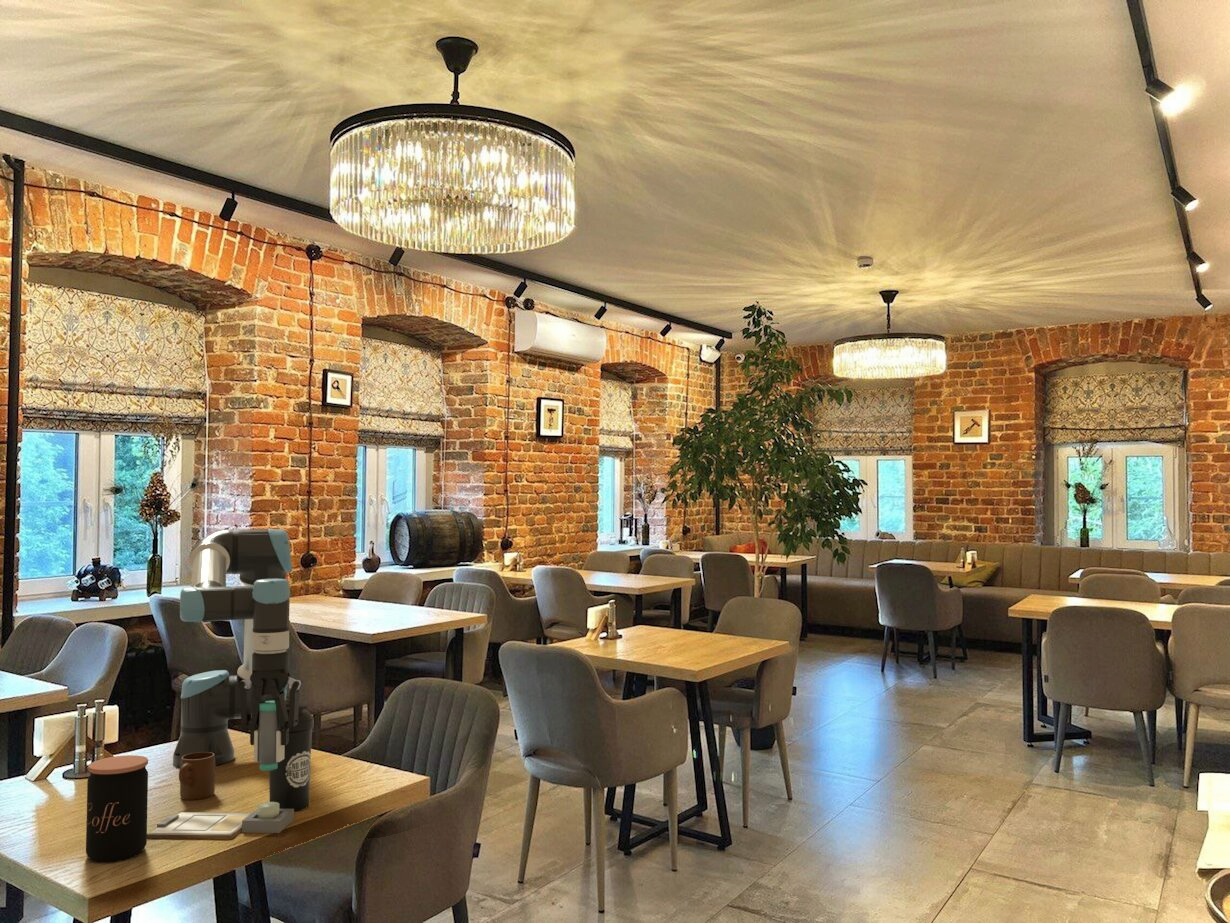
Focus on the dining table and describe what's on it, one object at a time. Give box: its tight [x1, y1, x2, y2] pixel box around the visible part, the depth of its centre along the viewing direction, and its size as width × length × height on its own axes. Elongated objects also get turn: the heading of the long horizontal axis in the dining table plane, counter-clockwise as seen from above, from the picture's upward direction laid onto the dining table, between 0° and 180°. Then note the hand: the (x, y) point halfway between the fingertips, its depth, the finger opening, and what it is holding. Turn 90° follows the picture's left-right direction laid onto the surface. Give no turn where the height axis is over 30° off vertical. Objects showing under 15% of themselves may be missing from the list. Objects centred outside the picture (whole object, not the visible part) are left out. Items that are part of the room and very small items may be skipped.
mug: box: [178, 752, 216, 801], centre depth 223 cm, size 12×8×9 cm, turn 178°
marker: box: [257, 701, 280, 772], centre depth 204 cm, size 4×4×14 cm
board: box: [147, 811, 252, 840], centre depth 203 cm, size 14×18×2 cm
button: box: [257, 801, 279, 819], centre depth 204 cm, size 4×4×3 cm
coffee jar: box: [85, 754, 149, 864], centre depth 188 cm, size 11×11×18 cm
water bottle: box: [268, 702, 315, 813], centre depth 217 cm, size 10×10×23 cm
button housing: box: [241, 808, 295, 834], centre depth 204 cm, size 8×8×2 cm
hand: (269, 760), depth 204 cm, fingers closed on marker, 4 cm apart
